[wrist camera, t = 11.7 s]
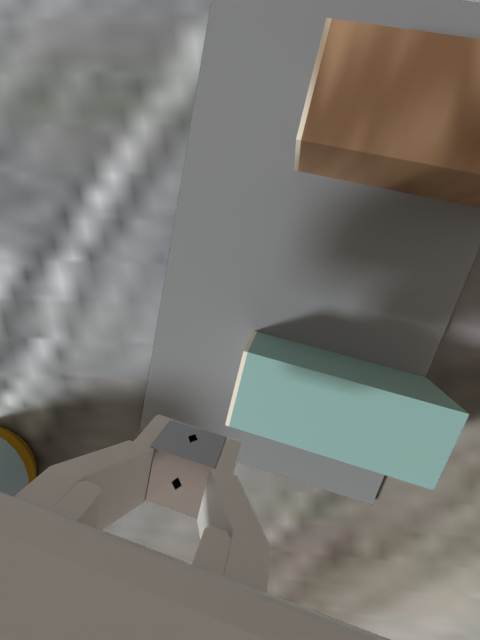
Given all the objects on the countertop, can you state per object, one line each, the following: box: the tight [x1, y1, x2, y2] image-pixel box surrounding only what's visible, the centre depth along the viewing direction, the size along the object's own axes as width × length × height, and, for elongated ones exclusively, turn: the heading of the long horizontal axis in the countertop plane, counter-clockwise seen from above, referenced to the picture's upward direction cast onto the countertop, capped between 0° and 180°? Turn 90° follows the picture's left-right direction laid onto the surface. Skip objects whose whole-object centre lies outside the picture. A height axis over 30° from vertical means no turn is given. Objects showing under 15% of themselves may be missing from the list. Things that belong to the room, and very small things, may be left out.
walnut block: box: [294, 18, 480, 208], centre depth 12 cm, size 4×4×10 cm
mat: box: [139, 0, 480, 505], centre depth 16 cm, size 26×16×1 cm, turn 167°
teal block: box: [225, 331, 469, 490], centre depth 15 cm, size 4×4×10 cm
